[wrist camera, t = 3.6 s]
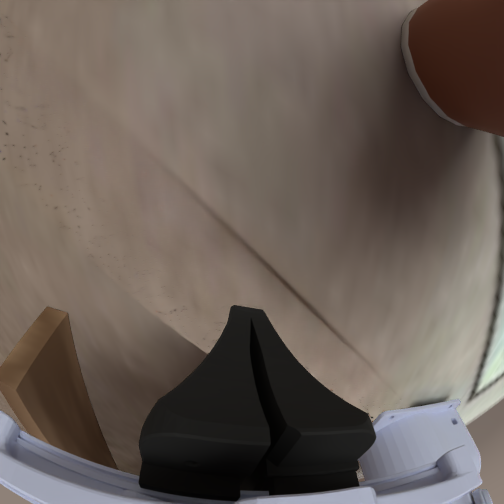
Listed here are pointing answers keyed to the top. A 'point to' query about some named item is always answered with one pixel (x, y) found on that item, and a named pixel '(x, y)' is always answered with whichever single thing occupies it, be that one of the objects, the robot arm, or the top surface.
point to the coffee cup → (458, 60)
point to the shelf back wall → (53, 390)
